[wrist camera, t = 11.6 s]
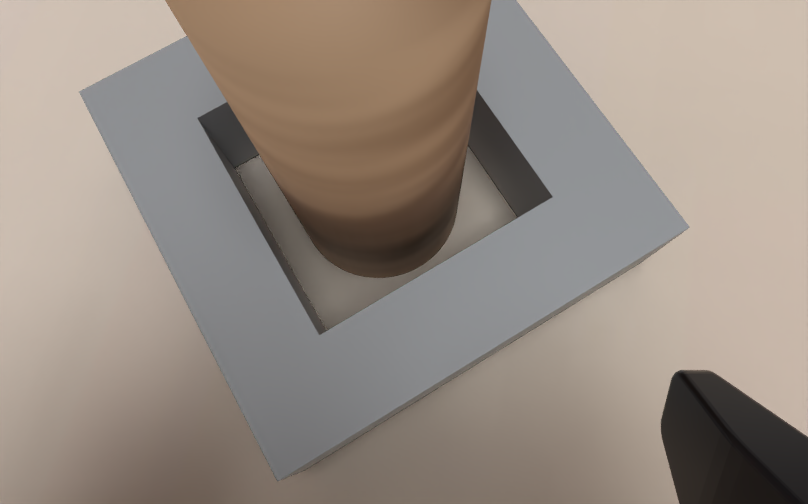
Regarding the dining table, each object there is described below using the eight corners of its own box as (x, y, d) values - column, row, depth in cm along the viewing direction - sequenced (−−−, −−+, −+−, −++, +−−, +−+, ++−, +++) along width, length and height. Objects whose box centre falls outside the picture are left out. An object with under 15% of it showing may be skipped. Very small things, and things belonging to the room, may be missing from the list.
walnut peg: (416, 303, 19) (408, 125, 8) (275, 238, 20) (71, -17, 8) (481, 167, 20) (561, -170, 9) (345, 109, 21) (251, -274, 9)
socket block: (304, 470, 18) (277, 481, 15) (134, 145, 21) (79, 91, 18) (643, 261, 19) (689, 227, 16) (439, -18, 22) (442, -96, 19)
